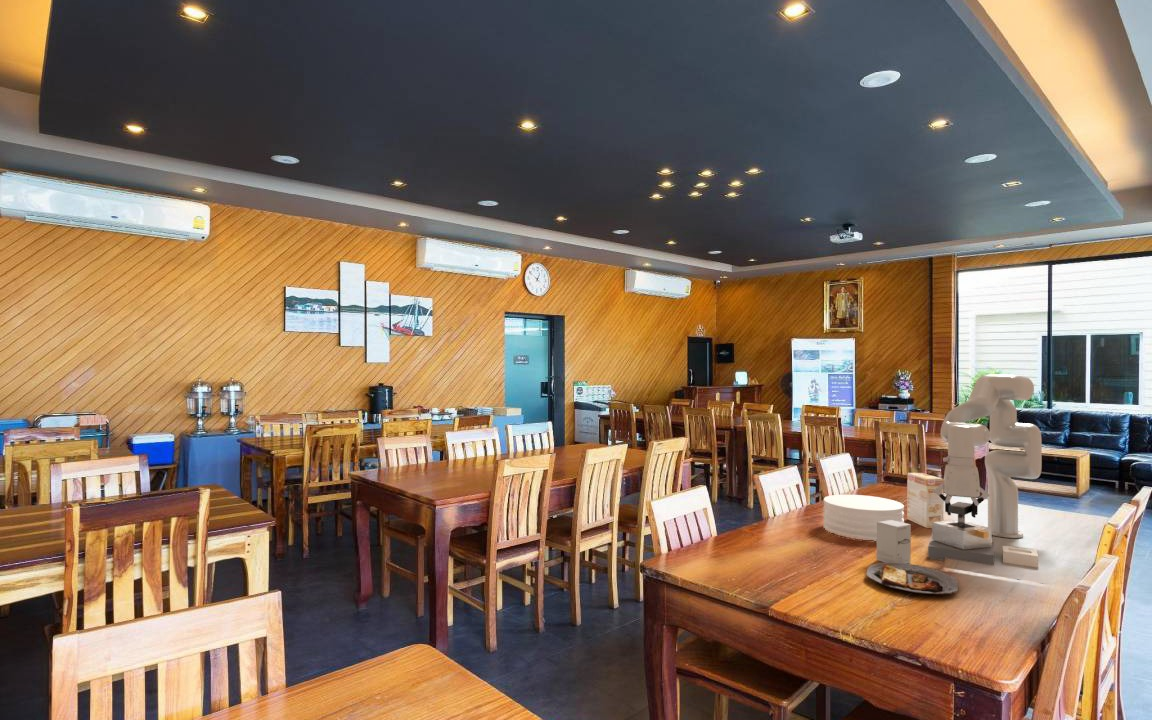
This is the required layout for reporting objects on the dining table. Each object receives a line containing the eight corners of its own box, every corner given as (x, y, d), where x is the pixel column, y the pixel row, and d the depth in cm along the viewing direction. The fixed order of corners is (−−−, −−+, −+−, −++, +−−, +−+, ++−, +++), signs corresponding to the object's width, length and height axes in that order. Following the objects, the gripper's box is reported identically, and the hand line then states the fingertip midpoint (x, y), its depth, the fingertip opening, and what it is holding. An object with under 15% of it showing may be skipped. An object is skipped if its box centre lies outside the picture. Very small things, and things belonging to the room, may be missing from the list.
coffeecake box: (944, 528, 245) (944, 478, 245) (926, 528, 245) (926, 478, 245) (923, 519, 260) (923, 472, 260) (906, 519, 260) (906, 472, 260)
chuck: (932, 539, 213) (932, 522, 213) (959, 537, 216) (959, 519, 216) (971, 552, 198) (971, 533, 198) (1000, 549, 202) (1000, 530, 202)
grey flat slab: (932, 545, 221) (932, 534, 221) (993, 554, 211) (993, 542, 211) (928, 558, 206) (928, 545, 206) (993, 568, 196) (993, 555, 196)
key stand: (1002, 559, 206) (1002, 545, 206) (1036, 564, 201) (1036, 550, 201) (1003, 565, 199) (1003, 551, 199) (1038, 570, 194) (1038, 556, 194)
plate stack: (907, 529, 244) (907, 499, 244) (900, 546, 220) (900, 513, 220) (831, 519, 259) (831, 491, 259) (816, 534, 235) (816, 504, 235)
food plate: (957, 606, 165) (957, 593, 165) (861, 589, 177) (861, 577, 177) (958, 579, 186) (958, 567, 186) (872, 566, 198) (872, 554, 198)
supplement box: (896, 566, 197) (896, 526, 197) (875, 560, 203) (875, 521, 204) (911, 563, 200) (911, 524, 200) (890, 557, 207) (890, 519, 207)
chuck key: (948, 539, 208) (948, 505, 208) (958, 535, 213) (958, 501, 213) (964, 542, 204) (964, 507, 204) (974, 537, 210) (973, 504, 210)
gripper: (932, 461, 209) (932, 515, 209) (994, 465, 202) (994, 520, 202) (930, 458, 216) (930, 510, 216) (989, 462, 209) (989, 515, 209)
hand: (961, 515), depth 209 cm, fingers closed on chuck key, 6 cm apart
